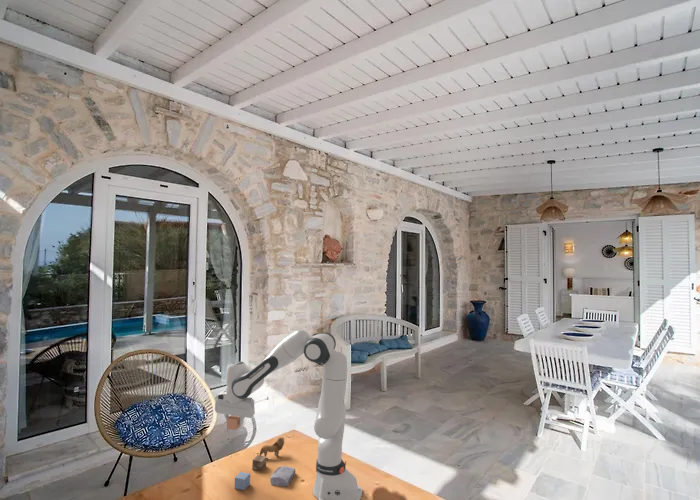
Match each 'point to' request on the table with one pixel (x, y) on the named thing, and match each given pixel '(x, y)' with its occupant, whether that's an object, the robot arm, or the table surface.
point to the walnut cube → (259, 463)
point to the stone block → (282, 476)
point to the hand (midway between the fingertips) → (234, 423)
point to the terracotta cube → (233, 422)
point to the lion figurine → (273, 447)
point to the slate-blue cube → (242, 480)
